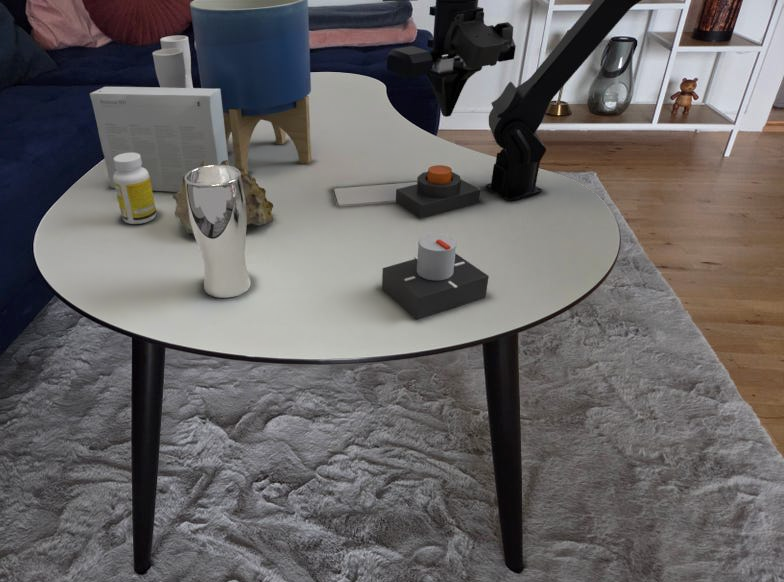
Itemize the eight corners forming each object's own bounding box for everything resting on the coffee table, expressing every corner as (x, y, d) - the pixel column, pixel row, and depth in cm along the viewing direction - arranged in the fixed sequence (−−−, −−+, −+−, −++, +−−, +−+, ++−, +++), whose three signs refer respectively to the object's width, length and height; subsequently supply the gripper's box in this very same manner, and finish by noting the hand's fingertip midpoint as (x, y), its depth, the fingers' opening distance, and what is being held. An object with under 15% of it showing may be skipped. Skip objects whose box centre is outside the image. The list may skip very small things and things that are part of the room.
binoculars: (196, 155, 122) (181, 54, 111) (168, 157, 122) (150, 56, 111) (202, 127, 136) (189, 34, 125) (176, 129, 136) (161, 36, 125)
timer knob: (409, 268, 78) (411, 236, 76) (439, 259, 80) (442, 228, 77) (430, 284, 75) (433, 251, 72) (460, 274, 76) (464, 242, 74)
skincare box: (233, 183, 110) (221, 87, 100) (222, 196, 106) (209, 97, 96) (124, 176, 115) (103, 84, 105) (109, 188, 111) (86, 93, 101)
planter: (192, 171, 116) (167, 8, 100) (240, 137, 130) (224, -11, 113) (289, 182, 109) (278, 10, 93) (328, 145, 123) (324, -10, 107)
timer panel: (445, 268, 84) (447, 246, 82) (487, 298, 78) (490, 275, 76) (380, 287, 81) (381, 265, 79) (418, 320, 74) (420, 298, 72)
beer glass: (202, 274, 85) (184, 165, 76) (253, 270, 86) (242, 161, 76) (199, 302, 80) (180, 188, 71) (254, 297, 80) (242, 183, 71)
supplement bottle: (163, 212, 102) (151, 152, 96) (146, 226, 98) (132, 164, 92) (134, 209, 103) (120, 149, 98) (116, 223, 99) (101, 161, 94)
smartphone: (331, 188, 106) (420, 180, 107) (331, 191, 107) (419, 184, 107) (337, 206, 100) (430, 198, 101) (337, 210, 101) (430, 202, 101)
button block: (452, 187, 104) (454, 164, 102) (479, 203, 99) (482, 178, 97) (395, 202, 101) (396, 178, 99) (420, 218, 96) (422, 193, 93)
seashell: (174, 228, 100) (156, 168, 93) (259, 200, 103) (248, 140, 97) (194, 260, 92) (175, 197, 85) (285, 229, 95) (274, 165, 89)
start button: (441, 174, 100) (442, 163, 99) (455, 181, 97) (456, 170, 96) (422, 178, 99) (423, 168, 98) (436, 186, 96) (437, 175, 95)
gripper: (434, 15, 78) (425, 142, 88) (551, -2, 84) (531, 119, 93) (386, 4, 86) (383, 121, 96) (497, -11, 92) (483, 101, 102)
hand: (446, 115), depth 96 cm, fingers closed
